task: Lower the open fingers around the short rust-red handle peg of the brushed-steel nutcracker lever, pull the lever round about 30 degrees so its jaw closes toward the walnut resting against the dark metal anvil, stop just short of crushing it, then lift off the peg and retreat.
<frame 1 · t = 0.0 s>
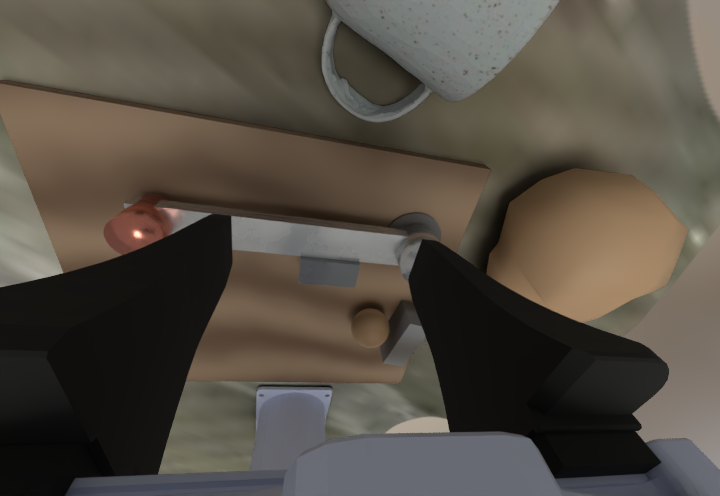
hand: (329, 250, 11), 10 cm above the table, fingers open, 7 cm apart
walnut: (367, 314, 26), point 1 cm above the table, touching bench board
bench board: (273, 281, 24), on the table
squash: (514, 263, 27), on the table
lever: (296, 251, 19), point 3 cm above the table, hinge at 0.0°
ceramic mug: (402, 15, 16), on the table
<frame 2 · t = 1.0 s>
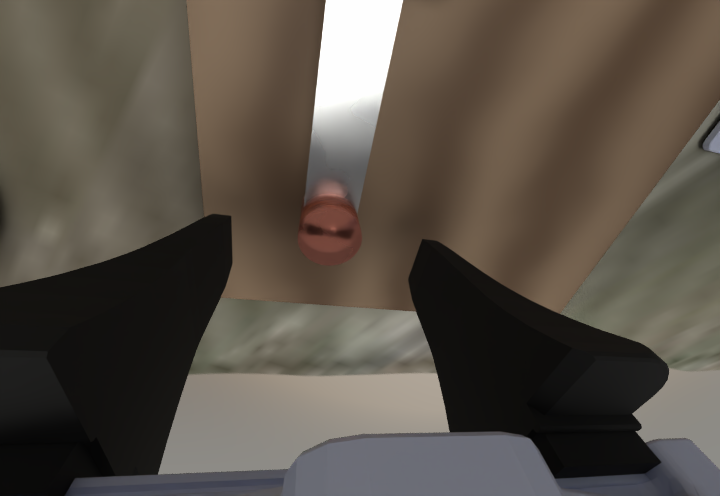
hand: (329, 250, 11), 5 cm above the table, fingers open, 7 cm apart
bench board: (480, 71, 14), on the table
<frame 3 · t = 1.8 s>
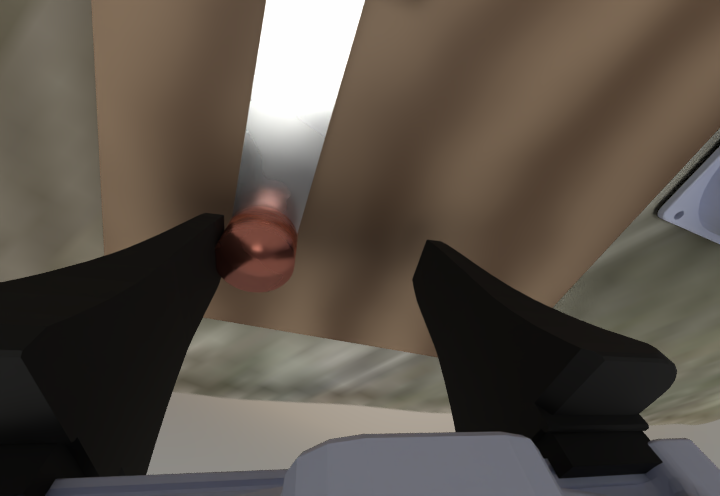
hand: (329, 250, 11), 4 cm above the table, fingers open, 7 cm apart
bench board: (449, 96, 12), on the table
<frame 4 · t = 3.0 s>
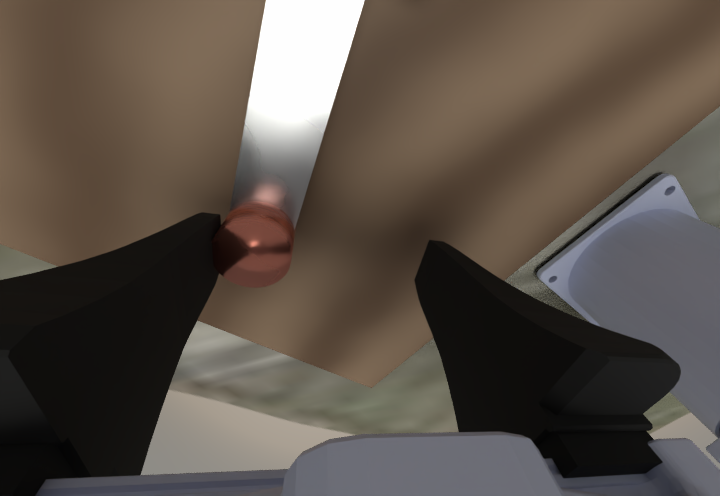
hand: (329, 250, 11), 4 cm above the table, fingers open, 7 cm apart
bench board: (366, 96, 12), on the table
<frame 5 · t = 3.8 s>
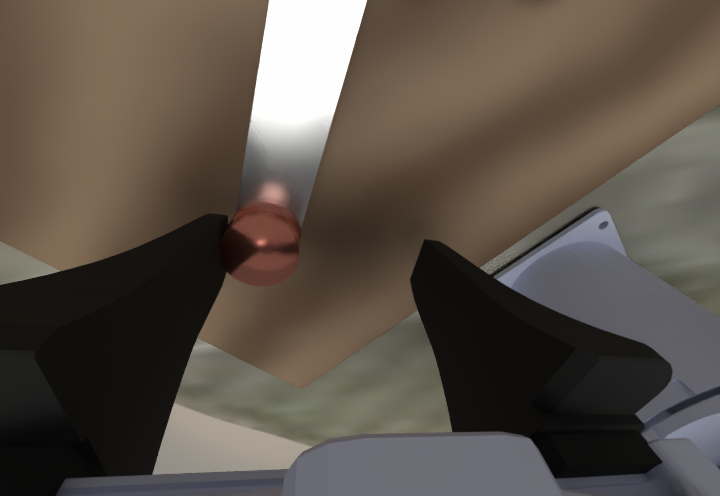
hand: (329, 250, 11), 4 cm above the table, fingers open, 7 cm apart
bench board: (317, 80, 11), on the table
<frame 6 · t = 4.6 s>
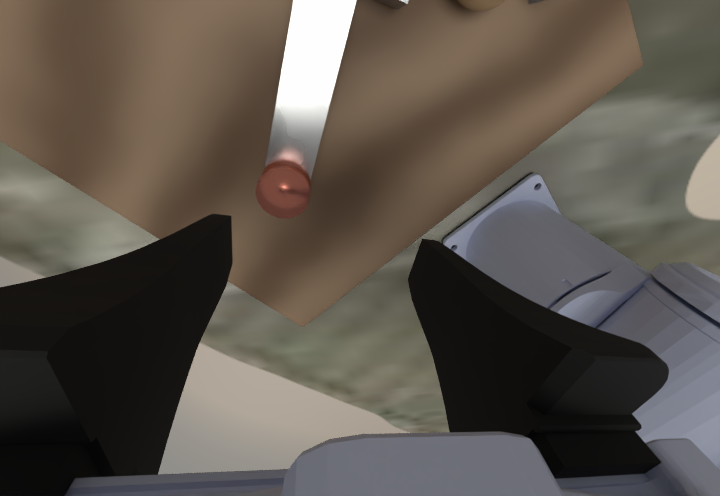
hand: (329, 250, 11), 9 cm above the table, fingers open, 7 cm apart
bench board: (315, 72, 16), on the table
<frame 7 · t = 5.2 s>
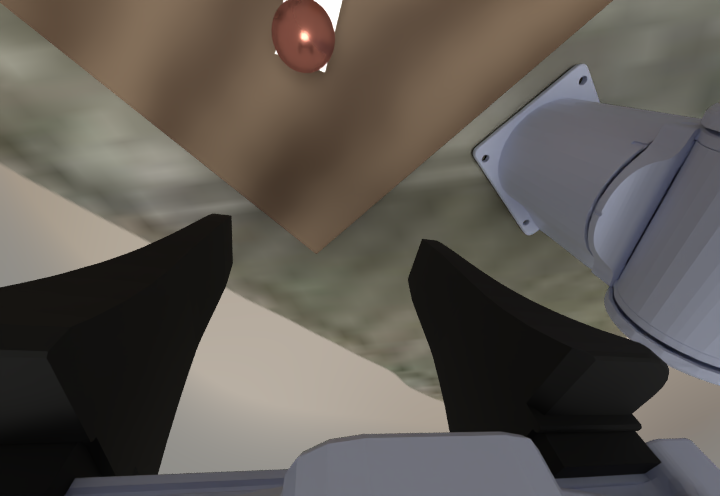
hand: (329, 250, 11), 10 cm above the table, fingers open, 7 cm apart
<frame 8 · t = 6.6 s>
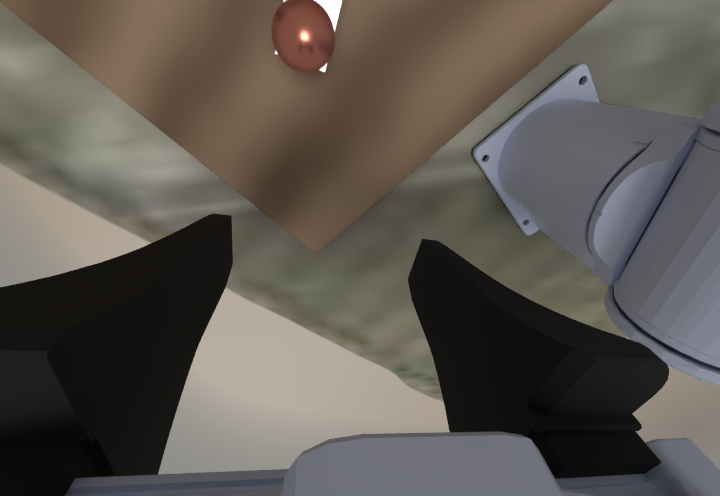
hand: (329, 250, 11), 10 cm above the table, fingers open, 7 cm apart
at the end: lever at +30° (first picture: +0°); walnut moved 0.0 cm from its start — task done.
